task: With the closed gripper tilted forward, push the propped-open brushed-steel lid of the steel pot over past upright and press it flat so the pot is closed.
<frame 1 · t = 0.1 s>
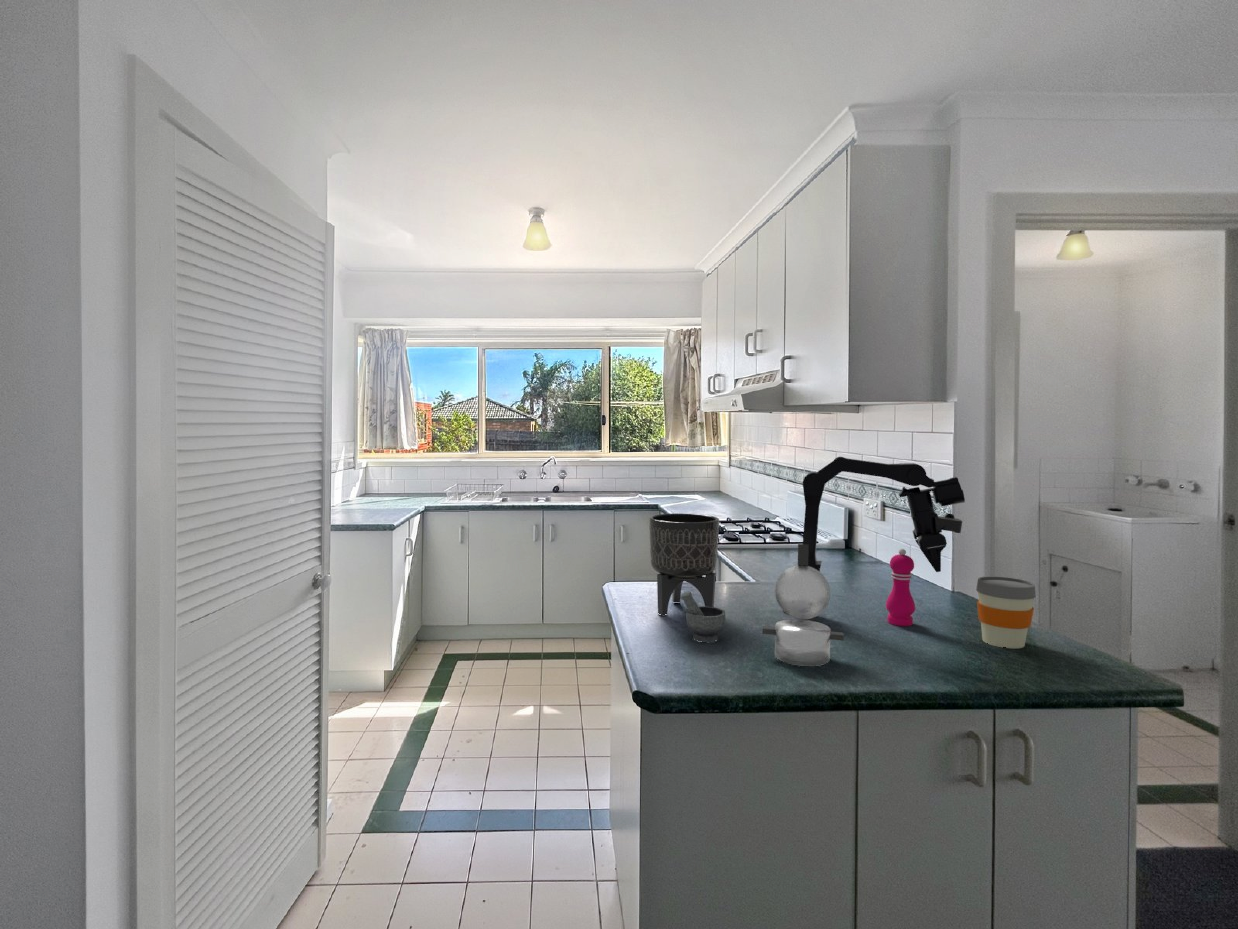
hand: (936, 568, 174), 15 cm above the countertop, tool pointing down, fingers open, 9 cm apart
steel lid: (802, 581, 159), point 15 cm above the countertop, hinge at 105.0°
steel pot: (801, 657, 150), on the countertop
mortar and pestle: (702, 640, 163), on the countertop
reusable coffee cup: (1003, 643, 163), on the countertop
planter: (682, 611, 188), on the countertop
pepper mill: (899, 623, 178), on the countertop
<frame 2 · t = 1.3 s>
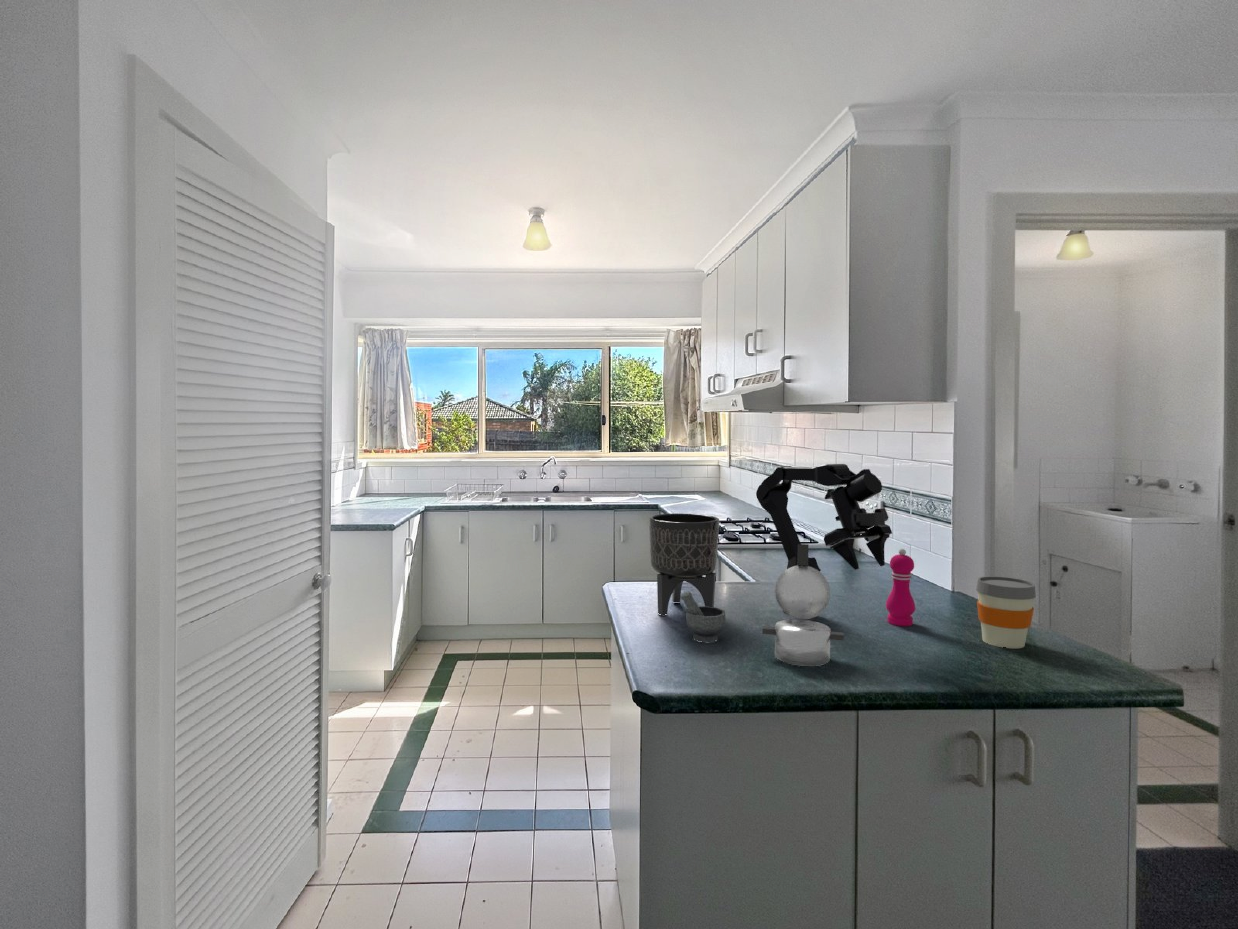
hand: (870, 567, 165), 18 cm above the countertop, tool tilted 30°, fingers open, 9 cm apart
nothing on the countertop moved.
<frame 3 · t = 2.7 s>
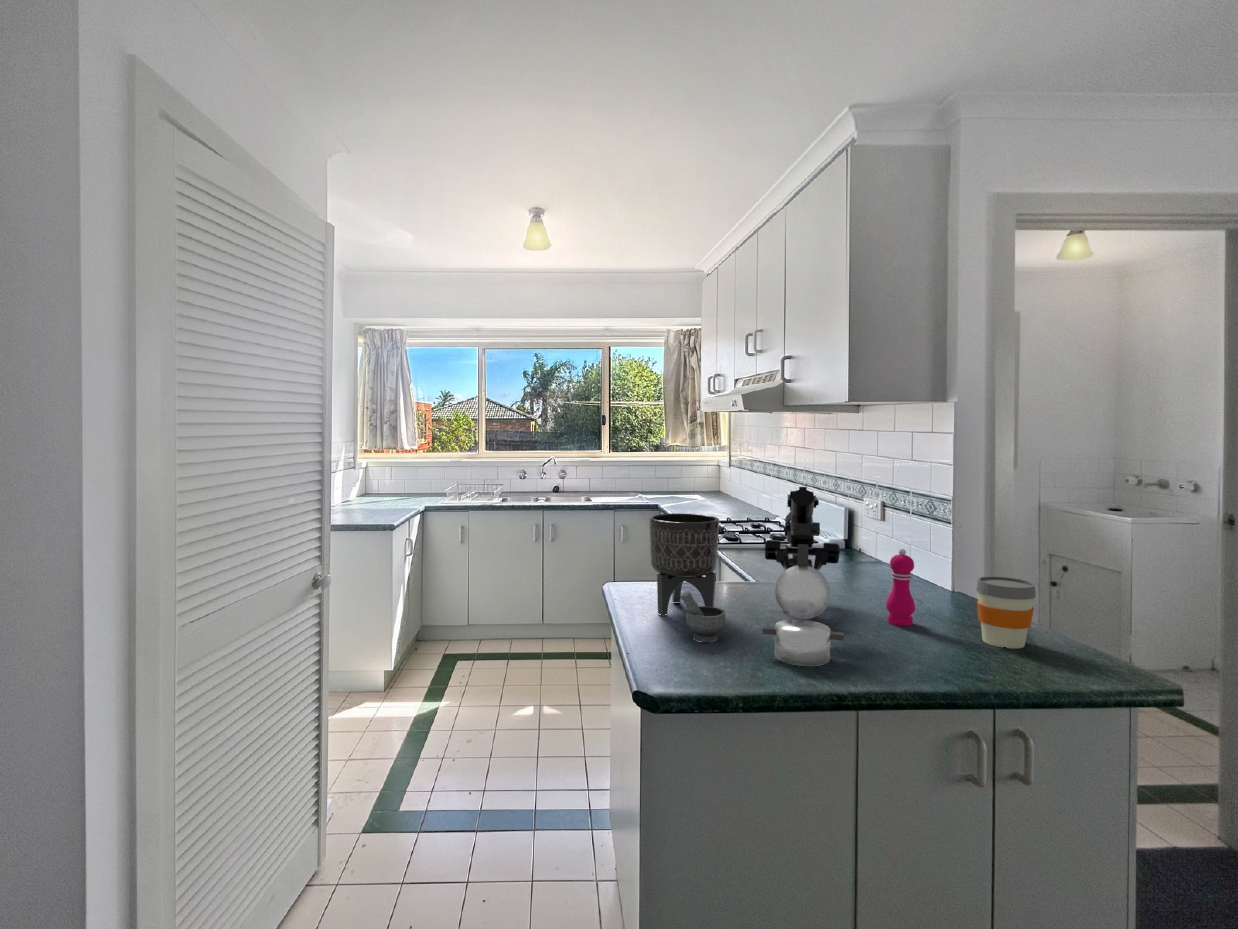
hand: (801, 579, 169), 14 cm above the countertop, tool tilted 45°, fingers open, 6 cm apart
nothing on the countertop moved.
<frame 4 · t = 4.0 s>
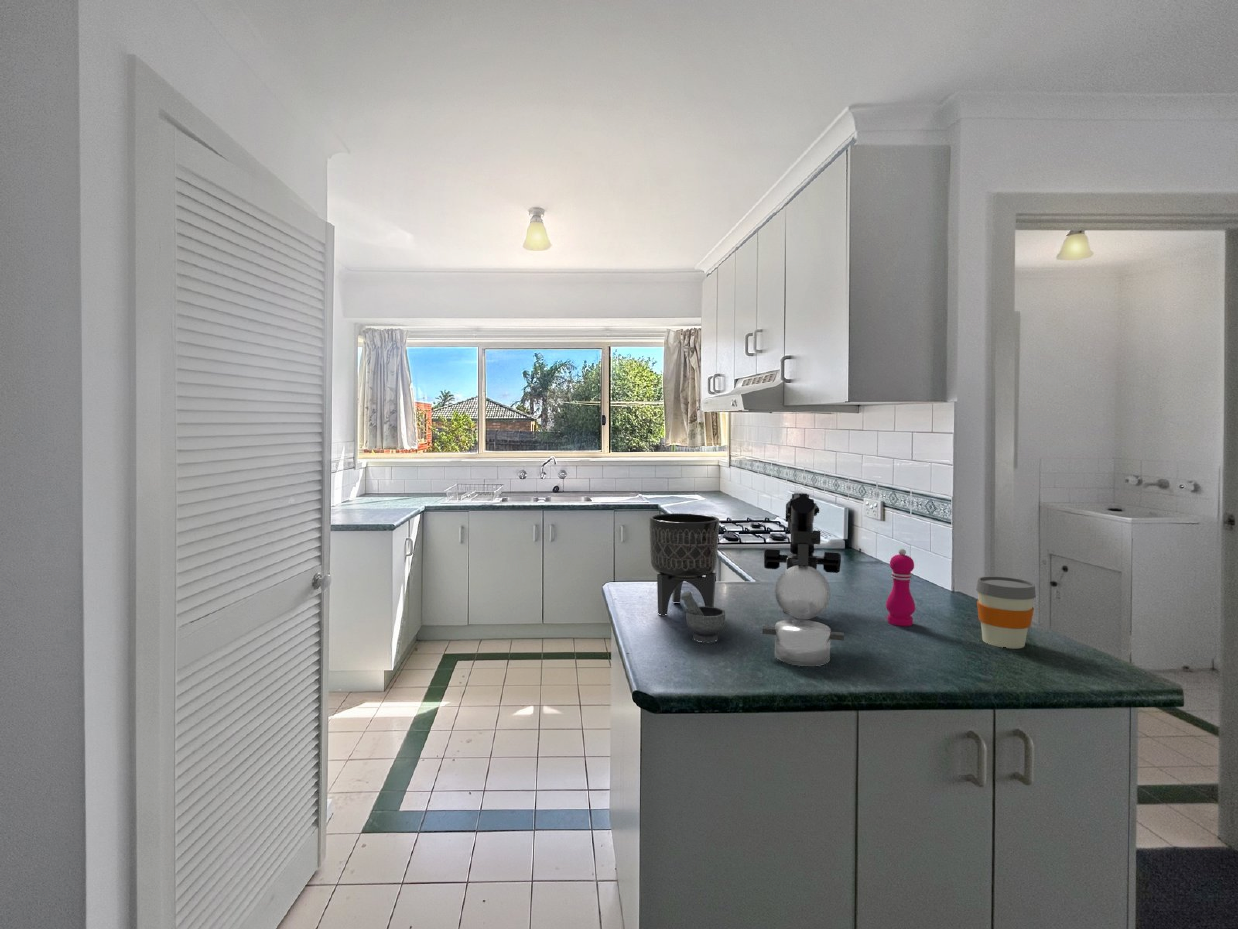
hand: (801, 588, 164), 12 cm above the countertop, tool tilted 45°, fingers closed
nothing on the countertop moved.
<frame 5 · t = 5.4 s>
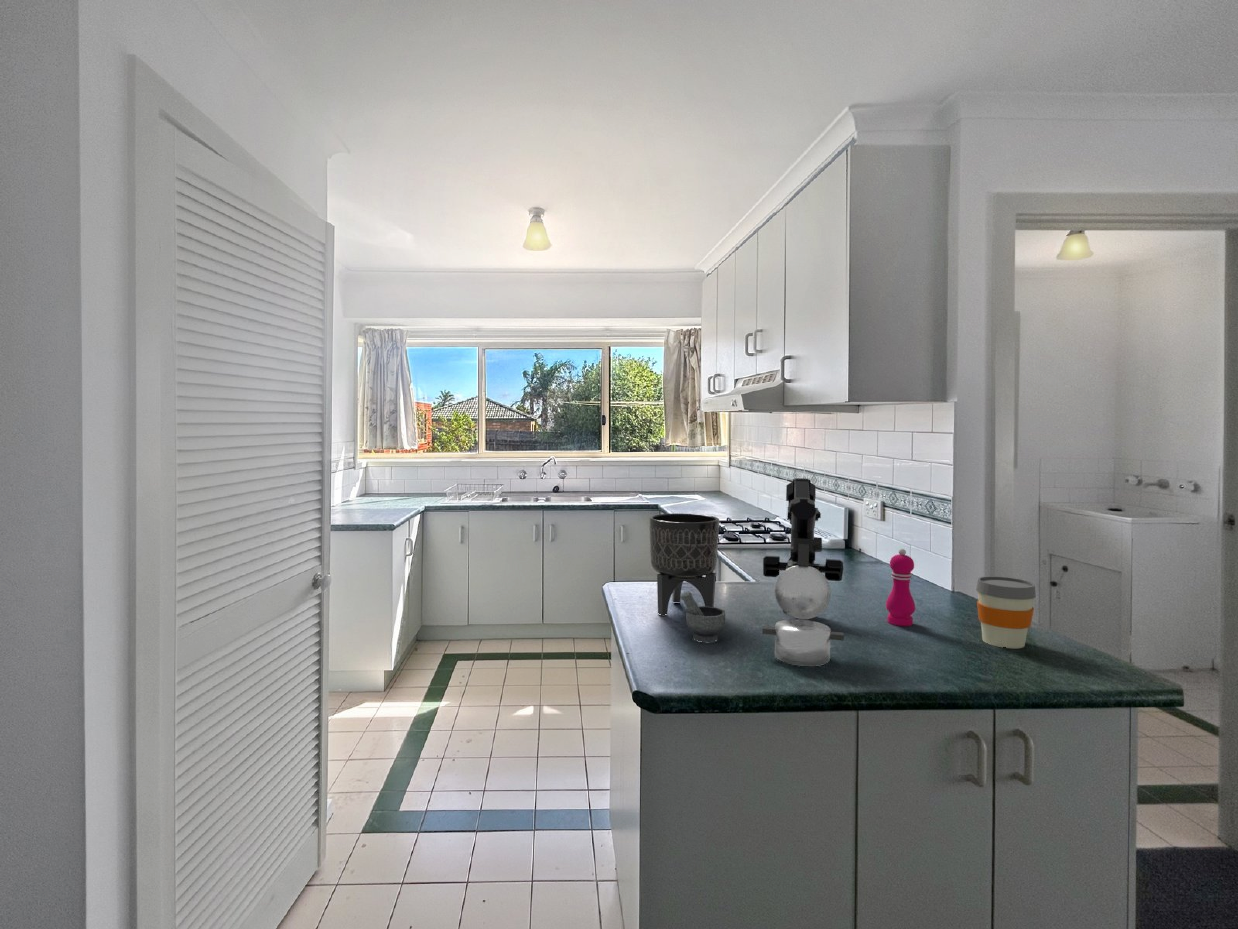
hand: (802, 598, 157), 12 cm above the countertop, tool tilted 45°, fingers closed, pressing on steel lid
steel lid: (802, 581, 157), point 16 cm above the countertop, hinge at 93.8°, touching gripper
everything else where it was.
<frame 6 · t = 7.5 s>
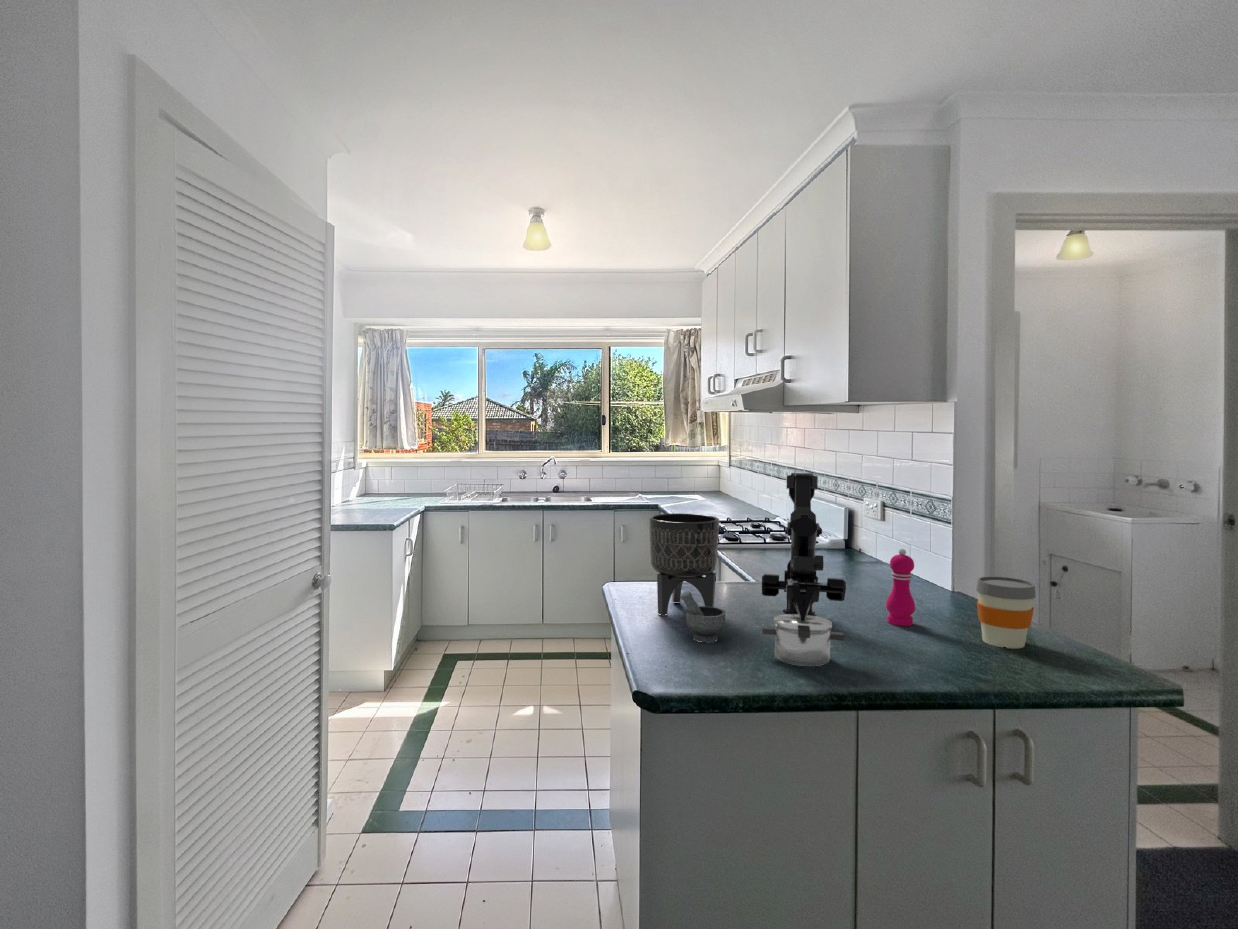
hand: (802, 619, 150), 9 cm above the countertop, tool tilted 45°, fingers closed, pressing on steel lid
steel lid: (803, 624, 148), point 8 cm above the countertop, hinge at 3.5°, touching gripper
everything else where it was.
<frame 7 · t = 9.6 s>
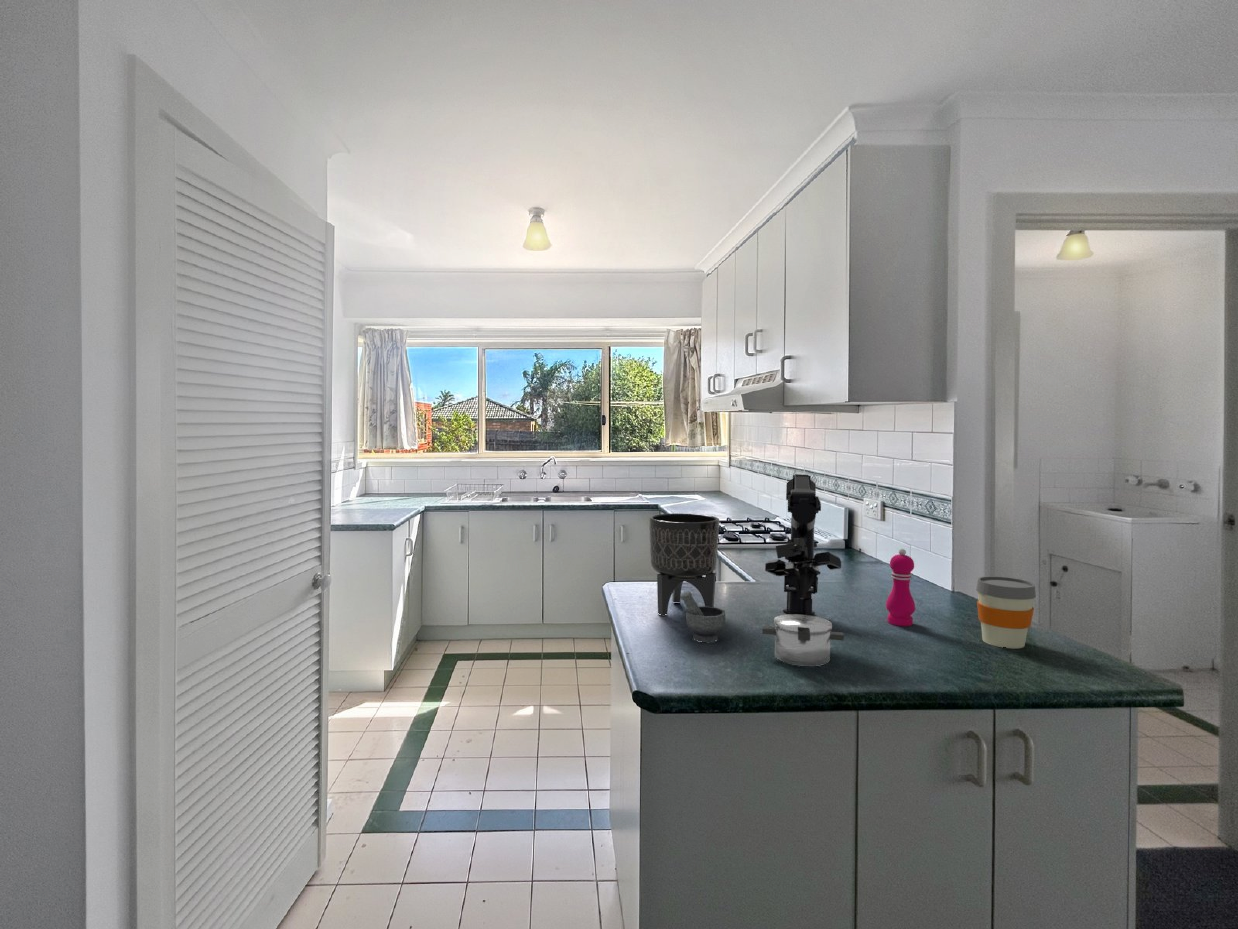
hand: (801, 598, 163), 10 cm above the countertop, tool tilted 30°, fingers closed
steel lid: (803, 626, 148), point 8 cm above the countertop, hinge at 1.5°
everything else where it was.
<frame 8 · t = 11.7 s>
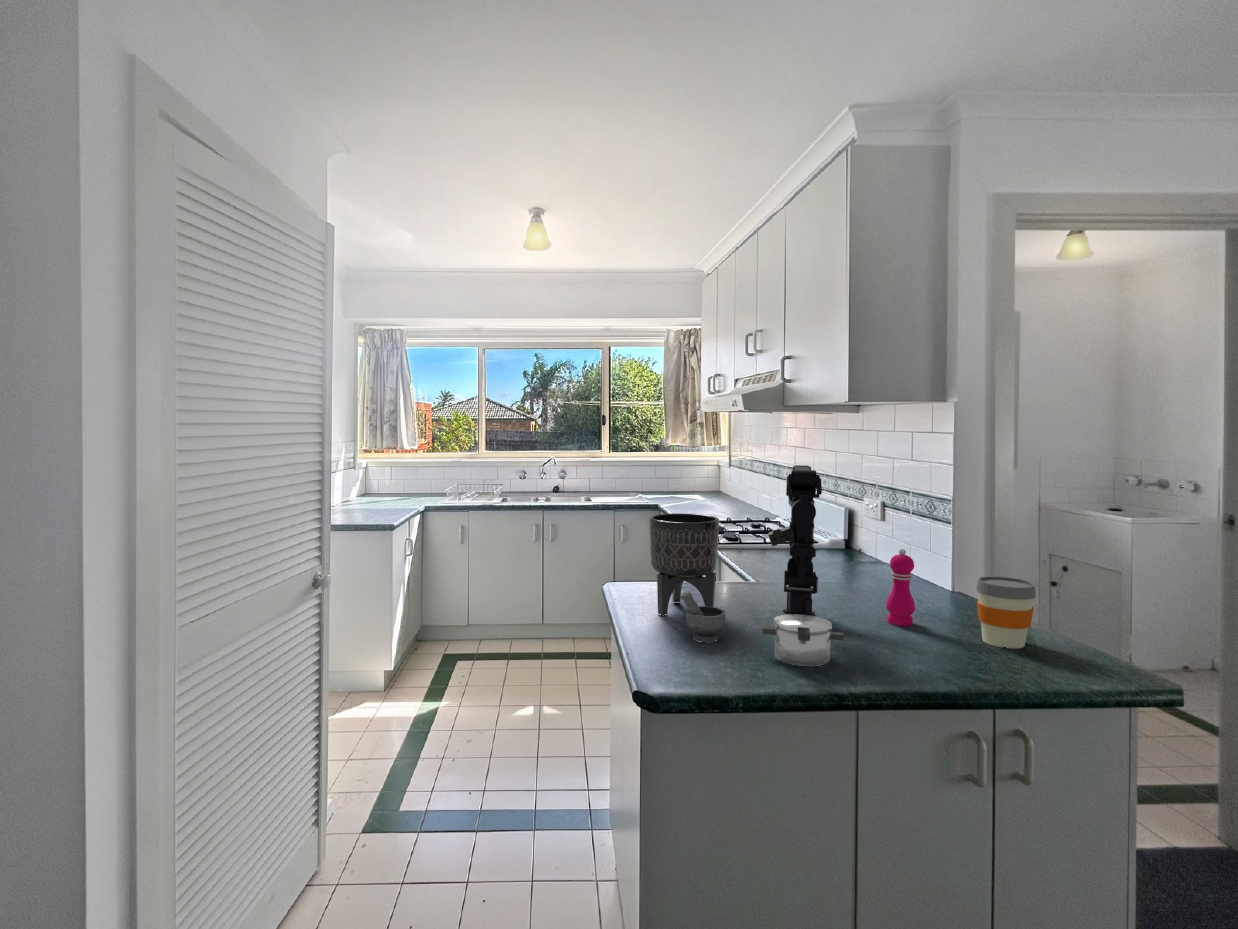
hand: (800, 578, 172), 13 cm above the countertop, tool pointing down, fingers closed
nothing on the countertop moved.
at the end: steel lid at +2° (first picture: +105°) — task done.
